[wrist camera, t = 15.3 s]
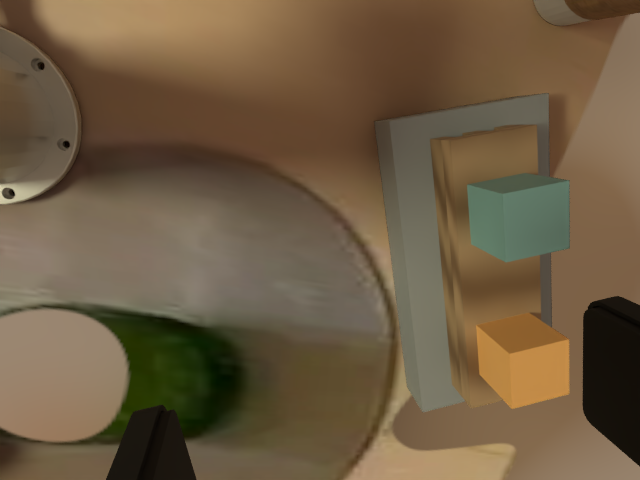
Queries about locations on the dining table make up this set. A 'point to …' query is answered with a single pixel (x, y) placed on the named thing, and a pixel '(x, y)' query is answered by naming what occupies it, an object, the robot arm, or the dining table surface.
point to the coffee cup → (583, 10)
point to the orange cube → (523, 359)
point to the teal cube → (519, 216)
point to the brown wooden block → (471, 262)
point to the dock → (422, 230)
